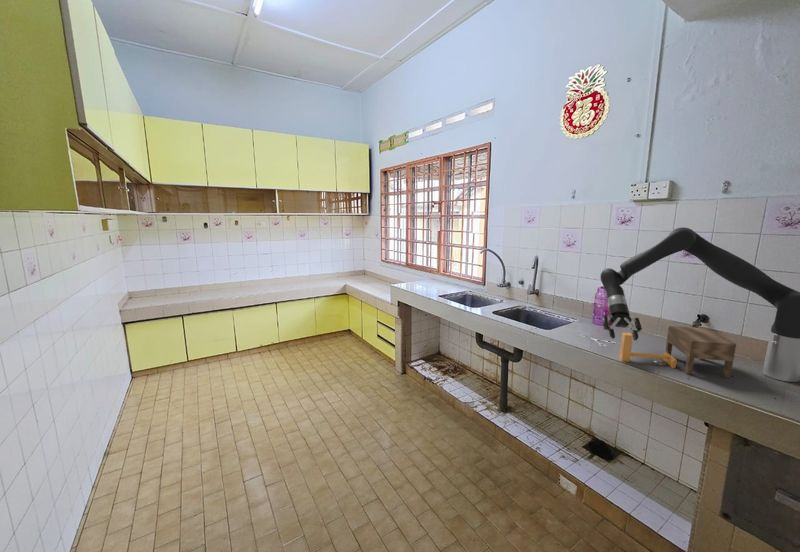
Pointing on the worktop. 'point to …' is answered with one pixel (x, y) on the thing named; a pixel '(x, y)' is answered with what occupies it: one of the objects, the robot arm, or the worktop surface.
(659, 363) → the steel token
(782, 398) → the worktop surface
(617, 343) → the scissors
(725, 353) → the wooden footstool
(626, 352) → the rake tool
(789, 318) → the robot arm
